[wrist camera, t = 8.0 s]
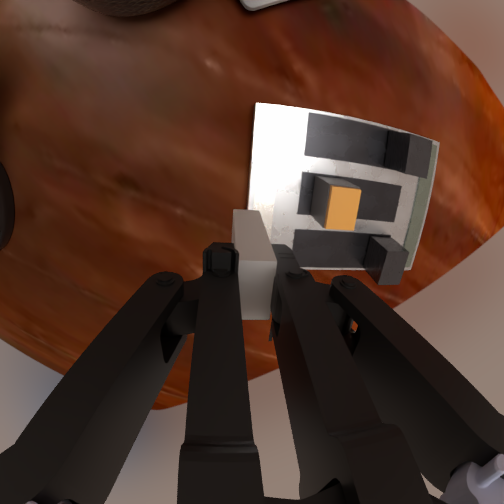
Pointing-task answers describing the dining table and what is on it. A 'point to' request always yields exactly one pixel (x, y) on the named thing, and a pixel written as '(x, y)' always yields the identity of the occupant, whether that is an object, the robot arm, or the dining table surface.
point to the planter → (124, 6)
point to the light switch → (259, 3)
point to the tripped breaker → (335, 203)
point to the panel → (350, 169)
